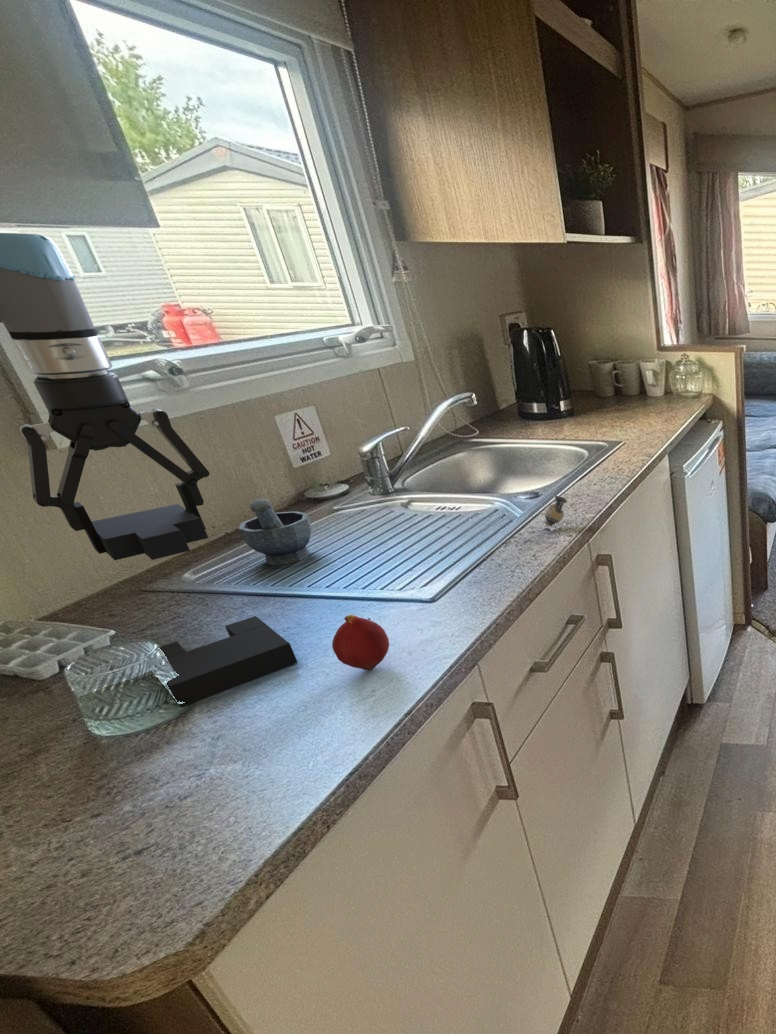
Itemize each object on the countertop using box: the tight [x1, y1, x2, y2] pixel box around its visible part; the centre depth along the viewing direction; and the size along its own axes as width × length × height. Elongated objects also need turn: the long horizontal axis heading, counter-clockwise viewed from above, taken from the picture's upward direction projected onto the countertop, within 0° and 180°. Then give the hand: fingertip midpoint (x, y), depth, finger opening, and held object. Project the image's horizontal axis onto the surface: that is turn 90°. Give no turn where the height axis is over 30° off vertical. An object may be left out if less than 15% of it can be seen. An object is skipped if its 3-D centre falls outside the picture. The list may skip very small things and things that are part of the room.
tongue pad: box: [91, 503, 209, 561], centre depth 91 cm, size 14×10×3 cm
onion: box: [331, 614, 390, 671], centre depth 82 cm, size 6×6×8 cm
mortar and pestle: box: [238, 498, 313, 566], centre depth 111 cm, size 11×9×12 cm
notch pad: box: [158, 615, 298, 708], centre depth 83 cm, size 12×12×3 cm
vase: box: [537, 495, 568, 533], centre depth 127 cm, size 5×5×6 cm
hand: (152, 538), depth 92 cm, fingers closed on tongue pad, 10 cm apart
